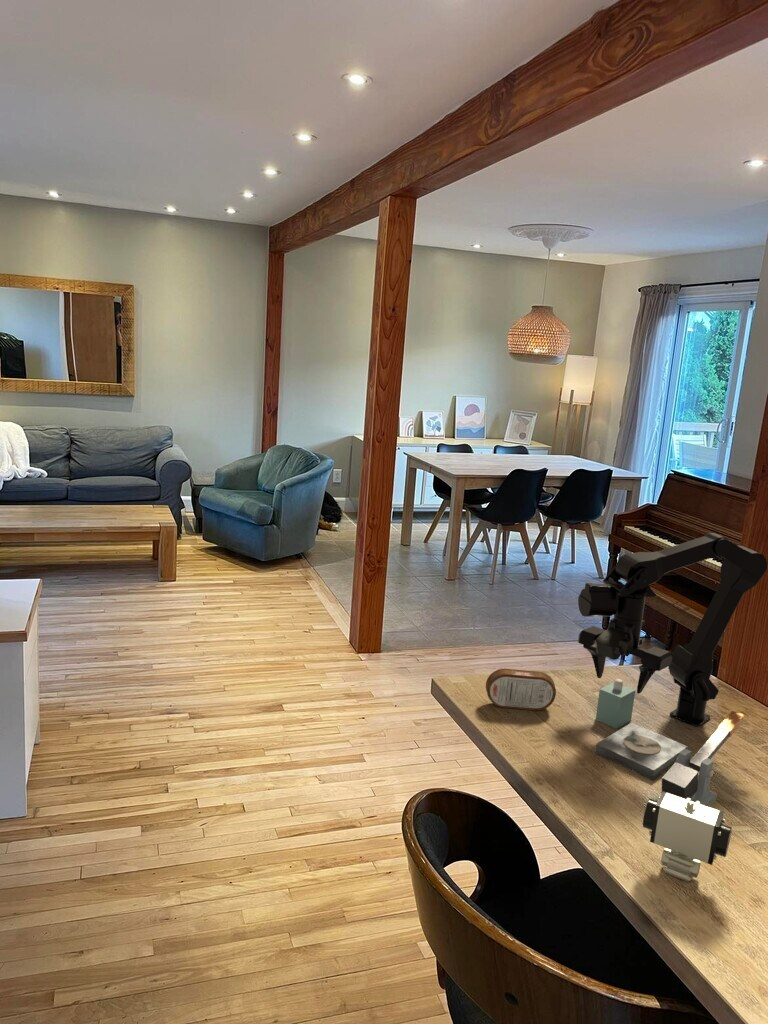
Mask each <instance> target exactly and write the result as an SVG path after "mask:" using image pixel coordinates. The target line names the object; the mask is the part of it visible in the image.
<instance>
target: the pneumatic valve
mask: <svg viewBox="0 0 768 1024" xmlns="http://www.w3.org/2000/svg"><path fill="white" fill-rule="evenodd" d="M661 792H662V793H661V794H660V796H658V800H656V799H652V798H649V799H648V801H647V803H646V806H645V809H644V812H643V813H644V814H643V818H642V827H643V828H644V829H646V830H649V831H648V835H649V836H650V839H649V842H650V843H652V844H655V845H658V846H660V847H662V848H663V851H662V855H661V857H660V859H661V860H660V864H661V865H662V866H664V867H663V869H662V870H663V872H664V873H665V874H667V875H669V876H671V877H674V878H676V879H678V880H682V881H684V882H686V883H689V882H691V881H692V877H693V878H698V877H699V874H700V870H701V862H703V863H705V864H708V865H711V866H713V863H714V862H715V860H717V857H718V856H720V857H723V858H726V857H727V854H728V851H729V846H730V842H731V836H732V830H733V827H732V826H730V825H727V824H725V822H726V819H725V818H724V815H725V814H724V813H725V812H724V811H721V810H718V809H716V808H713V807H710V806H709V807H707V806H704V805H701V804H700V802H699V801H696V802H693V801H691V799H690V798H687V799H684V798H681V797H678V796H675V795H672V794H669V793H666V792H663V791H662V790H661Z"/></svg>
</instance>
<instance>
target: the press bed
mask: <svg viewBox="0 0 768 1024" xmlns="http://www.w3.org/2000/svg"><path fill="white" fill-rule="evenodd" d="M688 748H689V747H688V745H685V744H683V743H681V742H679V741H676V740H675V739H674V740H673V739H672V738H669V737H666V736H664V735H662V734H660V733H656V731H655V732H654V731H653V730H650V729H648V728H645V727H643V726H641V725H638V724H635V723H633V722H630V723H629V724H627V725H625V726H624V727H622V728H620V729H619V730H617V731H615V732H613V733H611V734H609V735H608V736H607V737H605V738H603V739H602V740H600V741H598V742H596V743H595V751H594V753H595V754H596V755H598V756H600V757H602V758H605V759H606V760H609V761H611V762H613V763H615V764H617V765H618V766H619V765H620V766H621V767H624V768H625V769H627V770H630V771H632V772H634V773H636V774H638V775H641V776H643V777H645V778H647V779H649V780H651V781H653V780H654V779H657V778H658V777H659V776H661V774H663V773H665V772H667V771H668V770H669V769H670V768H671V767H672V766H673V765H674V764H675V762H676V759H677V757H678V755H679V752H681V751H682V750H683V749H688Z"/></svg>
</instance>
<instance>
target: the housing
mask: <svg viewBox="0 0 768 1024" xmlns="http://www.w3.org/2000/svg"><path fill="white" fill-rule="evenodd" d="M635 696H636V689H634V688H631V687H629V686H625V685H624V680H622V679H619V678H615V679H614V681H613V682H611V683H608V684H607V685H606V686H602V687H601V688H599V692H598V699H597V700H598V701H597V706H596V716H595V720H596V721H598V722H601V723H604V724H606V725H608V726H609V727H612V728H615V729H618V728H620V727H622V726H623V725H626V724H627V723H629V722H630V721H632V717H633V709H634V702H635Z"/></svg>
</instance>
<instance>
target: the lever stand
mask: <svg viewBox="0 0 768 1024" xmlns="http://www.w3.org/2000/svg"><path fill="white" fill-rule="evenodd" d="M691 757H692V750H689V749H688V748H687V749H683V750H682V751H681V752H679V755H678V757H677V759H676V762H677V763H679V764H682V765H684V766H686V767H688V768H690V767H689V761H690V760H691ZM713 767H714V760H713V759H712V758H711V759H709V758H706V759H705V760H703V761H702V762H701V766H700V771H698V786H697V792H696V793H695V794H694V795H693V797H692V798H691V801H693V802H696V801H699V802H700V804H701V805H704V806H707V807H710V806H711V805H712V804H714V803H715V802H716V800H717V796H718V794H717V793H716V792H712V791H711V790H710V784H711V778H713V775H714V770H713Z"/></svg>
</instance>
